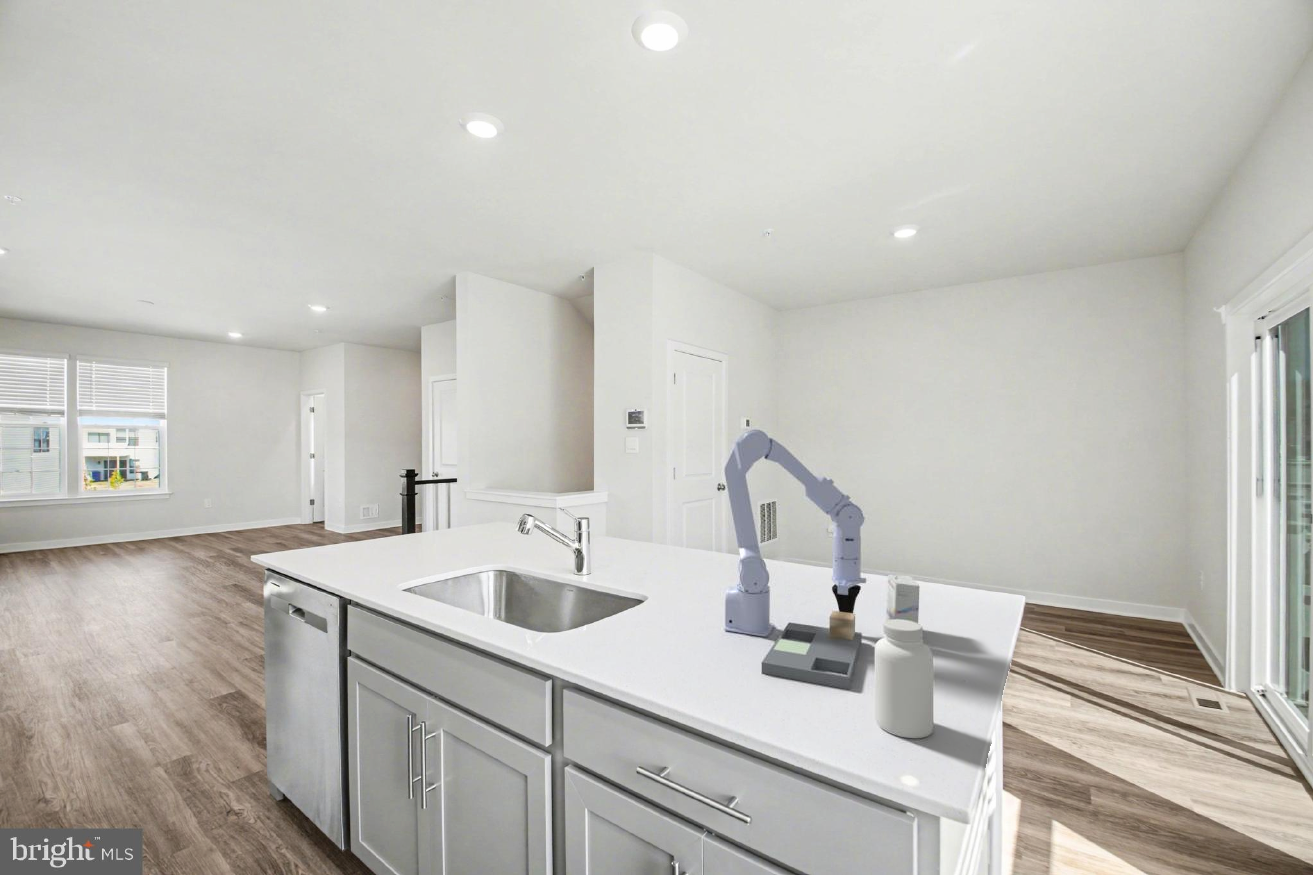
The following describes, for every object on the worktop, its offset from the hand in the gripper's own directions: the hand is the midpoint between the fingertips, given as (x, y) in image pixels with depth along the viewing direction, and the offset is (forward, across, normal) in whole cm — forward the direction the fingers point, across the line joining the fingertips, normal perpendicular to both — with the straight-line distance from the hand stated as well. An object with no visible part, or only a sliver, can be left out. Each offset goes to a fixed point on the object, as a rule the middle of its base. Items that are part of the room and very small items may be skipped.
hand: (846, 619), depth 122 cm
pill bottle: (+3, -37, -12) cm, 39 cm away
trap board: (+3, -16, +4) cm, 17 cm away
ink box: (+3, +6, -11) cm, 13 cm away
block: (+1, -7, 0) cm, 7 cm away
